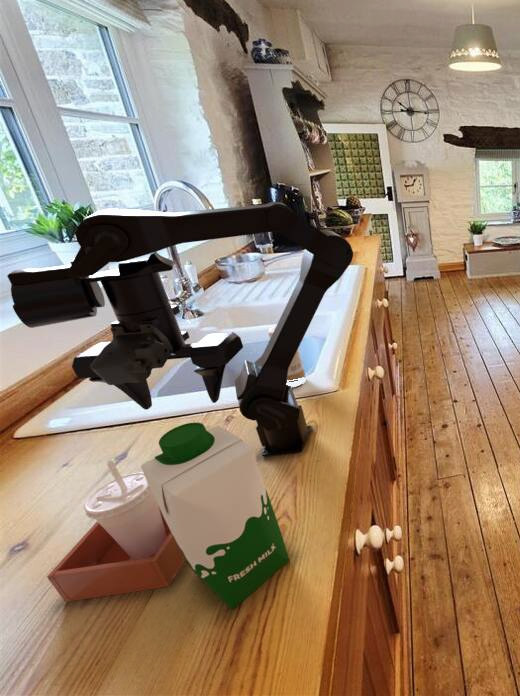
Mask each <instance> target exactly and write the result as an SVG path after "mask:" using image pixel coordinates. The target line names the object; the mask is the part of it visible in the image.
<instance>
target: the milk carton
mask: <svg viewBox="0 0 520 696" xmlns="http://www.w3.org/2000/svg"><path fill="white" fill-rule="evenodd" d="M158 445H159V448H160V450H161V452H162V453H160V454H157V455H156V456H154V458H152V459H150V460H148V461H146V462H144V463H142V464H141V465H140V468H141V470H142V472H144V475H145V478H146V480H147V483H148V485H149V488H150V490H151V492H152V494H153V496H154V498H155V499H156V501H157V503H158V506H159V508H160V510H161V512H162V515H163V517H164V519H165V521H166V523H167V525H168V527H169V529H170V531H171V533H172V534H173V536H174V538H175V540H176V542H177V544H178V546H179V548H180V550H181V552H182V554H183V556H184V558H185V560H186V561H185V562H186V563H187V565H188V566H189V567H190V569H191V570H192V572H193V573H194V574H195V575H196V576H197V577H198V578H199V579H200V580H201V581H202V582H203V584H205V585H206V587H208V588H209V589H210V591H212V593H213V594H215V595H216V596H217V597H218V598H219V599H220V600H221V601H222V602H223V603H224V604H225V605H226V606H227V607H228V608H229V609H230V610H231V611H233V610H235V609H236V608H237V607H238V606H239V605H240V604H242V603H243V602H244V601H245V600H246V599H247V598H248V597H250V596H251V595H252V594H253V593H254V592H255V591H256V590H257V589H259V588H260V587H261V586H262V585H263V584H265V583H266V582H267V581H268V580H269V579H270V578H272V576H274V575H275V574H276V573H277V572H278V571H279V570H281V569H282V568H283V567H284V566H285V565H286V564H287V563H289V562H290V561H291V560H290V556H289V554H288V550H287V547H286V544H285V541H284V537H283V535H282V534H283V533H282V532H281V528H280V525H279V522H278V520H277V517H276V513H275V511H274V508H273V505H272V502H271V499H270V497H269V494H268V492H267V489H266V486H265V482H264V479H263V477H262V474H261V471H260V470H259V469H260V468H259V465H258V463H257V458H256V454H255V448H254V447H253V446H251V445H250V444H248V443H246V442H245V441H244V439H243V438H241V437H240V436H238V435H236V434H234V433H232V432H231V431H229V430H227V429H226V428H224V427H223V426H221V425H215V426H213V427H211V428H210V429H208V430H207V428H206V426H205V425H204V424H203V423H202V422H197V421H196V422H187V423H184V424H181V425H179V426H175V427H173V428H172V429H170V430H168V431H167V432H165V433H164V434H163V435H162V436H161V437H160V438H159V440H158Z"/></svg>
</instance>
